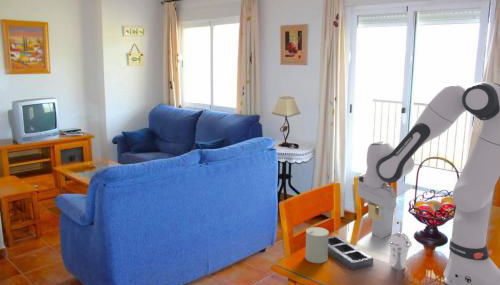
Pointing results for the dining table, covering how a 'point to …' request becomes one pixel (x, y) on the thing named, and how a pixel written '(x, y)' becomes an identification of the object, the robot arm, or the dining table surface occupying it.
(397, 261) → the cup with straw
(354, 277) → the dining table surface
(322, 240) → the can
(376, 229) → the skincare box
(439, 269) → the dining table surface
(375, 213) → the pale yellow upright block
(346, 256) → the grey compartment tray
